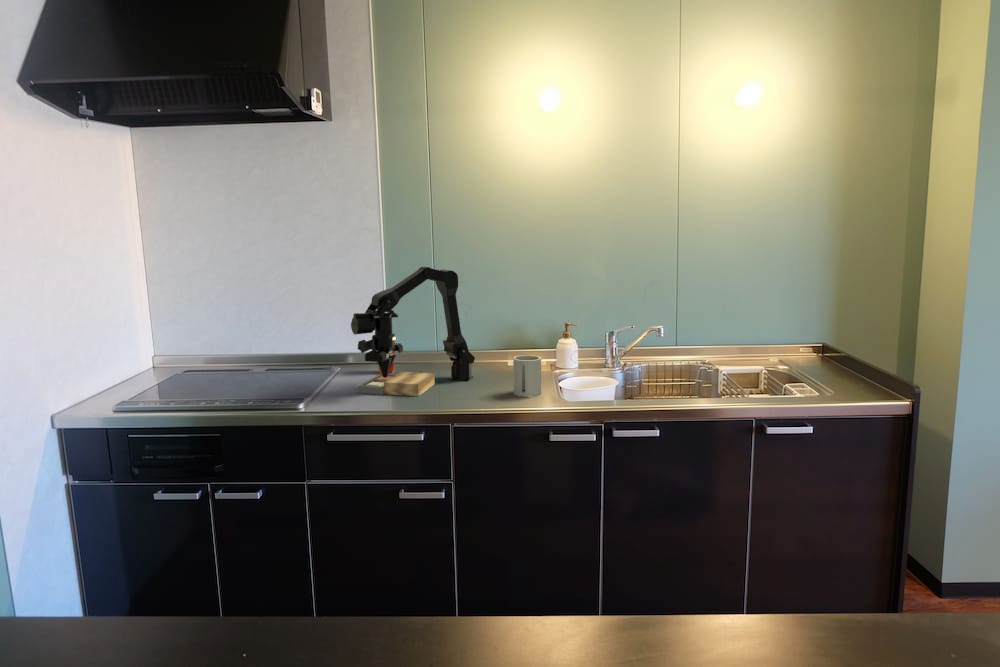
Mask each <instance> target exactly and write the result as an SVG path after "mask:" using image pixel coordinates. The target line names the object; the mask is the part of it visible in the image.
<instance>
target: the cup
mask: <svg viewBox="0 0 1000 667" xmlns="http://www.w3.org/2000/svg"><path fill="white" fill-rule="evenodd" d="M512 364H513V366H512V370H513V373H512V374H513V375H512V376H513V377H512V378H513V379H512V380H513V382H512V385H513V386H512V387H513V388H512V389H513V390H512V391H513V392H512V393H514V394H515V395H514V394H513V395H514V396H516V395H518V396H517V397H520V396H526V397H525V398H528V397H527V396H535V397H538V396H537V395H539V396H540V394H542V357H541V356H538V355H531V354H530V355H529V354H526V355H525V354H524V355H522V354H521V355H516V356H513V359H512ZM522 390H525V391H522Z"/></svg>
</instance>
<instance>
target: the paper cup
mask: <svg viewBox="0 0 1000 667" xmlns="http://www.w3.org/2000/svg"><path fill="white" fill-rule="evenodd" d="M396 339H397V338H396V336H395V337H393V343H396ZM392 353H393V355H396V351H392ZM395 360H396V359H395ZM395 360H394V362H393V364H392V367H391V369H390V371H389V374H391V375H392V374H393V373H395V366H396V365H395ZM377 364H378V363H377ZM378 372H379V374H382V372H381V369H380V367H379V364H378Z"/></svg>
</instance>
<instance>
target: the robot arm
mask: <svg viewBox="0 0 1000 667" xmlns="http://www.w3.org/2000/svg"><path fill="white" fill-rule="evenodd" d="M427 280H429V281H433V282H435V284H436V288H437V290H438V291H439V293H440V295H441V297H442V298H441V299H442V305H443V311H444V319H445V324H446V330H447V336H446V339H444V340H442V344H443V352H445V353H446V355H447V356H448V358H449V360H450V361H451V362H452V365H451V366H450V371H451V372H450V374H451V379H450V380H451V381H465V382H467V381H470V380H472V378H474V375H473V374H472V370H473V369H472V364H474V363H475V359H476V357H475V355H473V354H472V353H471V352H470V350H469V346H468V344H467V341H466V339H465V338H464V336H463V334H462V330H461V329H462V328H461V323H460V316H459V309H458V301H457V292H458V289H459V276H458V274H457V272H455V271H454V270H449V269H435V268H432V267H430V266H420V267H419V268H418V269H417V270H415V271H414V272H413V273H412V274H410V275H408V276H407V277H406V278H404V279H402V280H401V281H400V282H398V283H397V284H395V285H394V286H393V287H390V288H387V289H384V290H382V291H379V292H377V293H375V294H373V295H372V296H371V302H370V304H369V305H368V307H367V309H366V310H365V312H363V313H362V312H361V313H357V312H355V313H353V317H352V318H351V322H350V328H351V331H352V334H353V335H364V334H371V333H373V332H374V334H373V335H372V336H371V339H369V340H365V339H361V340H359V341H358V344H357V350H359V351H360V353H361V354H363V353H365V354H364V362H374V363H375V362H376V363H377V364H379V365H378V368H379V367H380V369H381V372H382V375H383V377H384V378H386V377H387V376H388V374H389V371H390V369H391V367H392V364H393V362H394V360H396V358H397V355H396V354H395V355H393V353H392V351H395V352H398V353H403V351H404V346H403V344H402V343H398V342H395V343H393V337H395V338H396V336H395V333H393V318H398V317H399V315H398V314H397V313H396V312H395V311H394V310H393V309H394V308H395V307H396V306H397V305H398V304H399V302H400V300H401V299H402V298H404V297H405V296H406V295H407V294H409V293H410V292H412V291H413V290H414V289H416V288H417V287H419V286H420V285H422V284H423V283H424V282H426V281H427Z"/></svg>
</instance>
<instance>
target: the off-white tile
mask: <svg viewBox="0 0 1000 667" xmlns="http://www.w3.org/2000/svg"><path fill="white" fill-rule="evenodd" d="M366 386H380V387H384V382H371V383H369V384H367V385H366Z"/></svg>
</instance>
